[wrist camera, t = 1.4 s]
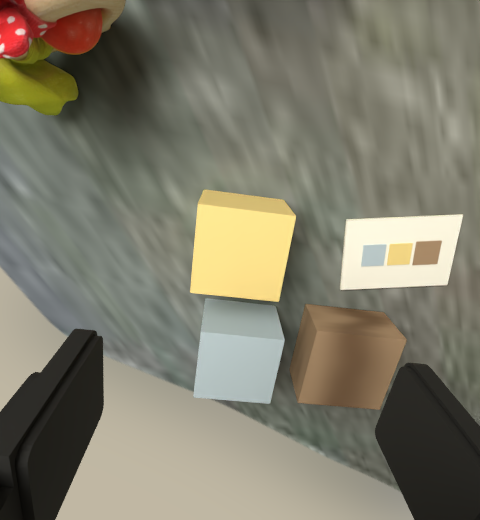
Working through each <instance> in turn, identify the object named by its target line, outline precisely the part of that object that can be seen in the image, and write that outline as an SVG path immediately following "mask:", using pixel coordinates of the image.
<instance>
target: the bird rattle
mask: <svg viewBox="0 0 480 520" xmlns="http://www.w3.org/2000/svg"><path fill="white" fill-rule="evenodd" d="M125 1H126V0H0V101H2V102H5V103H9V104H14V105H28V106H30V107H31V108H33V109H34V110H36V111H38V112H40V113H42V114H45V115H58V114H59V113H60V112H61V110H62V107H63V105H64V104H65V103H66V102H67V101H73V100H76V99H77V97H78V88H77V84H76V81H75V79H74V77H73V76H71V75H70V74H68V73H66V72H65V71H63V70H61V69H59V68H58V67H56V66H54V65H51V64H50V63H48V62H47V61H45V60H43V59H45V58H47V57H48V56H49V55H50V54H51V53H52V52H55V51H60V52H63V53H66V54H73V55H76V54H83V53H85V52H88V51H89V50H91V49H92V48H93V47H94V46H95V45H96V44H97V42H98V41H99V39H100V36H101V33H102V32H105V31H107V30H109V29H110V27H111V24H112V23H113V22H114V21H115V20H116V19H117V18H118V17H119V16H120V15H121V13H122V11H123V9H124V6H125Z"/></svg>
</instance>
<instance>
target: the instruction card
mask: <svg viewBox="0 0 480 520" xmlns="http://www.w3.org/2000/svg"><path fill="white" fill-rule="evenodd" d="M462 218H463V215H462V214H458V215H435V216H412V217H389V218H366V219H346V225H345V236H344V248H343V259H342V270H341V282H340V290H351V289H372V288H393V287H415V286H436V285H447V284H448V280H449V275H450V271H451V266H452V262H453V257H454V253H455V249H456V244H457V240H458V235H459V231H460V226H461V222H462Z"/></svg>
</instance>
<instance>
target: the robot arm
mask: <svg viewBox="0 0 480 520" xmlns="http://www.w3.org/2000/svg"><path fill="white" fill-rule="evenodd" d="M103 398H104V396H103V338H102V336H97V332H96V331H94V330H84V329H74V330H73V331H72V333H71V334H70V335H69V337H68V338H67V339H66V340H65V342H64V343H63V345H62V346H61V347H60V349H59V350H58V351H57V352H56V353H55V355H54V356H53V358H52V359H51V360H50V361H49V363H48V364H47V365H46V367H45V368H44V369H43V370H42V372H41V373H38V372H35V373H33V374H31V375H30V376H29V377H28V378H27V380H26V381H25V382H24V383H23V384H22V386H21V387H20V388H19V389H18V391H17V392H16V393H15V394H14V395H13V397H12V398H11V399H10V400H9V402H8V403H7V405H5V407H4V408H3V409H2V411H1V412H0V520H55V519H56V517H57V514H58V512H59V510H60V508H61V505H62V503H63V501H64V499H65V496H66V494H67V492H68V490H69V487H70V485H71V483H72V481H73V478H74V476H75V474H76V472H77V469H78V467H79V465H80V463H81V460H82V458H83V456H84V453H85V451H86V449H87V447H88V445H89V442H90V440H91V438H92V436H93V433H94V431H95V429H96V427H97V424H98V422H99V420H100V417H101V415H102V411H103V405H104V403H103V402H104V399H103ZM375 435H376V439H377V441H378V443H379V446H380V448H381V450H382V452H383V454H384V456H385V458H386V460H387V463H388V465H389V467H390V469H391V471H392V473H393V475H394V477H395V479H396V482H397V484H398V486H399V488H400V490H401V492H402V494H403V496H404V499H405V501H406V503H407V505H408V507H409V509H410V511H411V513H412V515H413V518H414V520H480V426H479V425H478V424H477V423H476V422H475V420H474V419H473V418H472V417H471V416H470V414H469V413H468V412H467V411H466V410H465V408H464V407H463V406H462V405H461V404H460V402H459V401H458V400H457V399H456V398H455V396H454V395H453V394H452V393H451V392H450V391H449V389H448V388H447V387H446V386H445V385H444V383H443V382H442V381H441V380H440V379H439V377H438V376H437V375H436V374H435V373H434V371H433V370H432V369H431V368H430V367H429V366H428V365H426V364H417V363H406V364H405V365H404V367H401V368H400V369H399V371H398V374H397V376H396V378H395V381H394V383H393V386H392V388H391V391H390V393H389V396H388V398H387V401H386V403H385V406H384V408H383V410H382V413H381V415H380V418H379V420H378V423H377V425H376V428H375Z"/></svg>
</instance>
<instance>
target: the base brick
mask: <svg viewBox="0 0 480 520" xmlns="http://www.w3.org/2000/svg"><path fill="white" fill-rule="evenodd" d="M406 341H407V340H406V338H405V337H404V336H403V335H402V334H401V332H400V331H399V330H398V329H397V328H396V326H395V325H394V324H393V323H392V322H391V321H390V319H389V318H388V317H387V316H386V315H385V313H384V312H375V311H366V310H357V309H348V308H338V307H329V306H320V305H311V304H305V308H304V312H303V316H302V320H301V324H300V328H299V332H298V336H297V341H296V345H295V349H294V353H293V357H292V361H291V365H290V373H291V377H292V381H293V385H294V389H295V393H296V397H297V401H298V403H306V404H318V405H330V406H342V407H354V408H366V409H379V410H380V407H381V405H382V402H383V400H384V397H385V395H386V392H387V390H388V387H389V384H390V382H391V379H392V377H393V374H394V372H395V369H396V367H397V364H398V362H399V359H400V356H401V354H402V351H403V349H404V346H405V344H406Z"/></svg>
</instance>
